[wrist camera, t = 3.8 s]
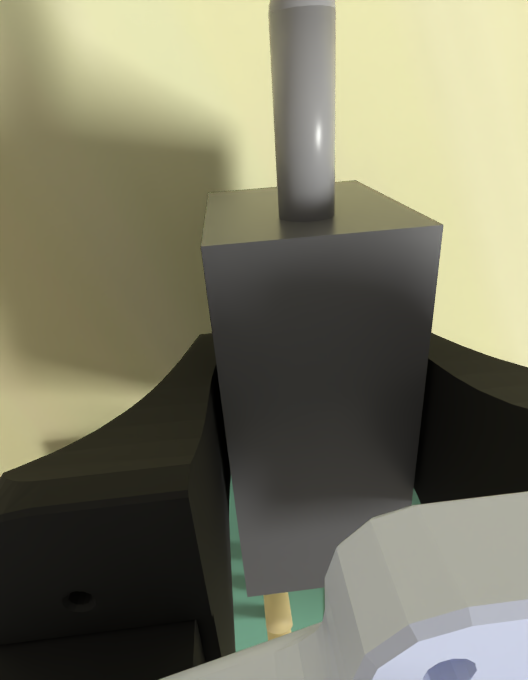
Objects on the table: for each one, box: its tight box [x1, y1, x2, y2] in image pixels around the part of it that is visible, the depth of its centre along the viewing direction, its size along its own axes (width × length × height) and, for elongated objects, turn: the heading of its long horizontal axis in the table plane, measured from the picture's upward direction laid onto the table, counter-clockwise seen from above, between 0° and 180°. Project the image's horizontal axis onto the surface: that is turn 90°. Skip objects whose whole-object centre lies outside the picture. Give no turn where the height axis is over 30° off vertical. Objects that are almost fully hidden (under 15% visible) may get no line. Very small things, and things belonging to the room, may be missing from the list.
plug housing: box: [201, 0, 443, 597], centre depth 10 cm, size 4×12×5 cm, turn 4°
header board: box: [229, 478, 421, 652], centre depth 20 cm, size 14×16×4 cm
